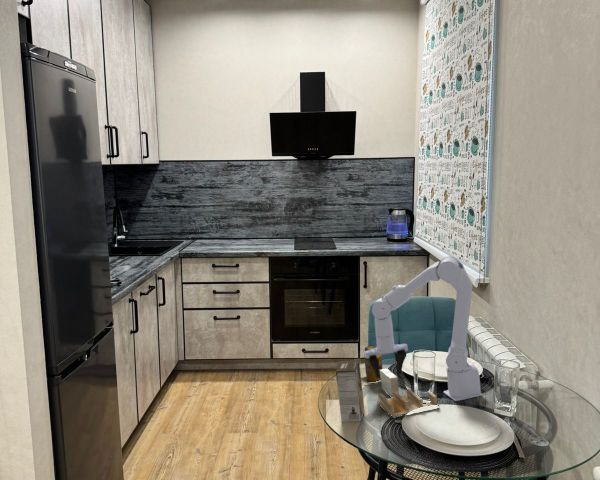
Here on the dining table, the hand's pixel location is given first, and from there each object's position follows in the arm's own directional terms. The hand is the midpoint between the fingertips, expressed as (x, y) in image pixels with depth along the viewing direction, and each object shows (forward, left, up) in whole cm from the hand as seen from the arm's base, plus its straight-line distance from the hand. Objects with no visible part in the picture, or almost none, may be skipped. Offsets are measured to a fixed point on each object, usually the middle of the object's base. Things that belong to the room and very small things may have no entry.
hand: (388, 374), depth 185 cm
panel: (0, 0, -6) cm, 6 cm away
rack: (-1, +12, -6) cm, 14 cm away
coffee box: (+16, +10, -7) cm, 20 cm away
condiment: (+1, -14, -7) cm, 15 cm away
